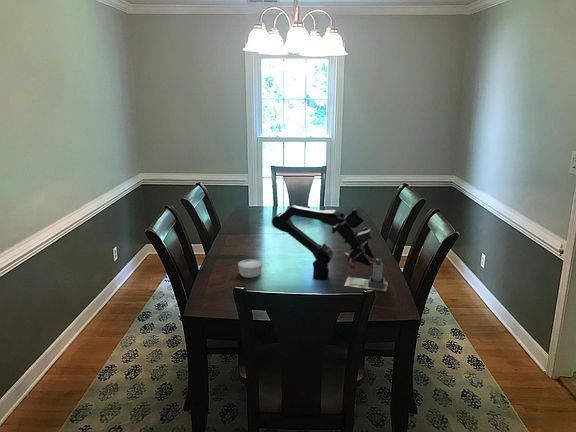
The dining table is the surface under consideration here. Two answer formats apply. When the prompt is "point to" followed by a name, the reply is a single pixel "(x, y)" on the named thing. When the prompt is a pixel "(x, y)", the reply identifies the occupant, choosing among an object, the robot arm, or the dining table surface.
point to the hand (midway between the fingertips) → (372, 261)
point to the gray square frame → (376, 283)
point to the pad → (358, 282)
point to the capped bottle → (377, 271)
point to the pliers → (352, 260)
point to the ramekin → (250, 268)
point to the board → (350, 279)
